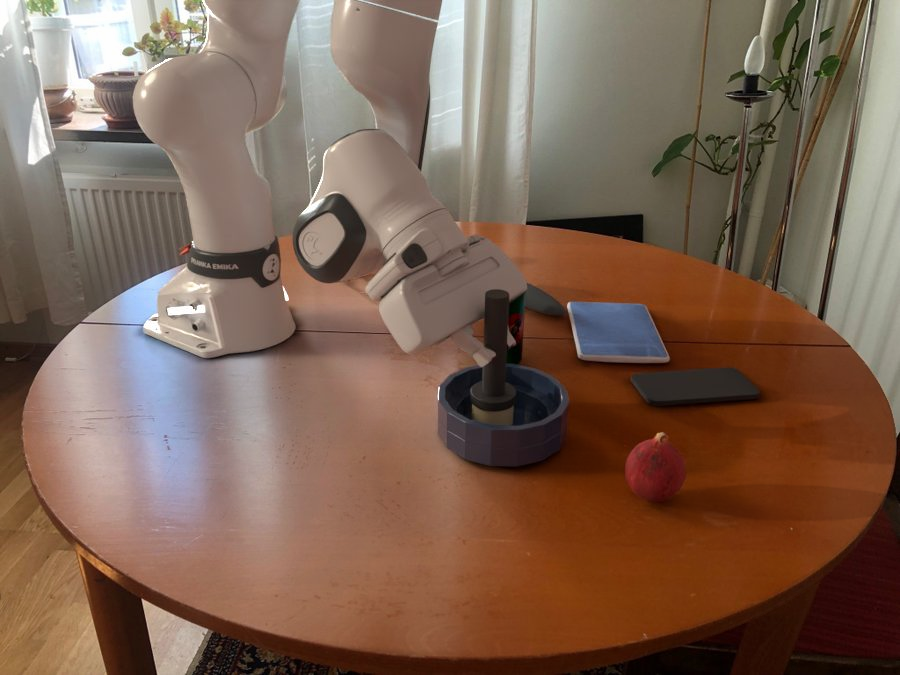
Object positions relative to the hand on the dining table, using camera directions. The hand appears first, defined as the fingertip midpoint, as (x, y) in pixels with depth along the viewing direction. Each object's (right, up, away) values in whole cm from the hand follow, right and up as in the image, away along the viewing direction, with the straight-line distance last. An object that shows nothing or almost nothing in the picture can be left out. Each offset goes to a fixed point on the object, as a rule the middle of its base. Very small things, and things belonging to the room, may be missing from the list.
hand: (499, 356), depth 82 cm
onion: (+15, -15, -7) cm, 22 cm away
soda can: (+2, -1, +20) cm, 20 cm away
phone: (+26, -5, +14) cm, 30 cm away
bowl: (0, -9, +4) cm, 10 cm away
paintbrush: (+6, +8, +39) cm, 40 cm away
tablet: (+19, +2, +28) cm, 34 cm away
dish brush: (-1, -8, +4) cm, 9 cm away
